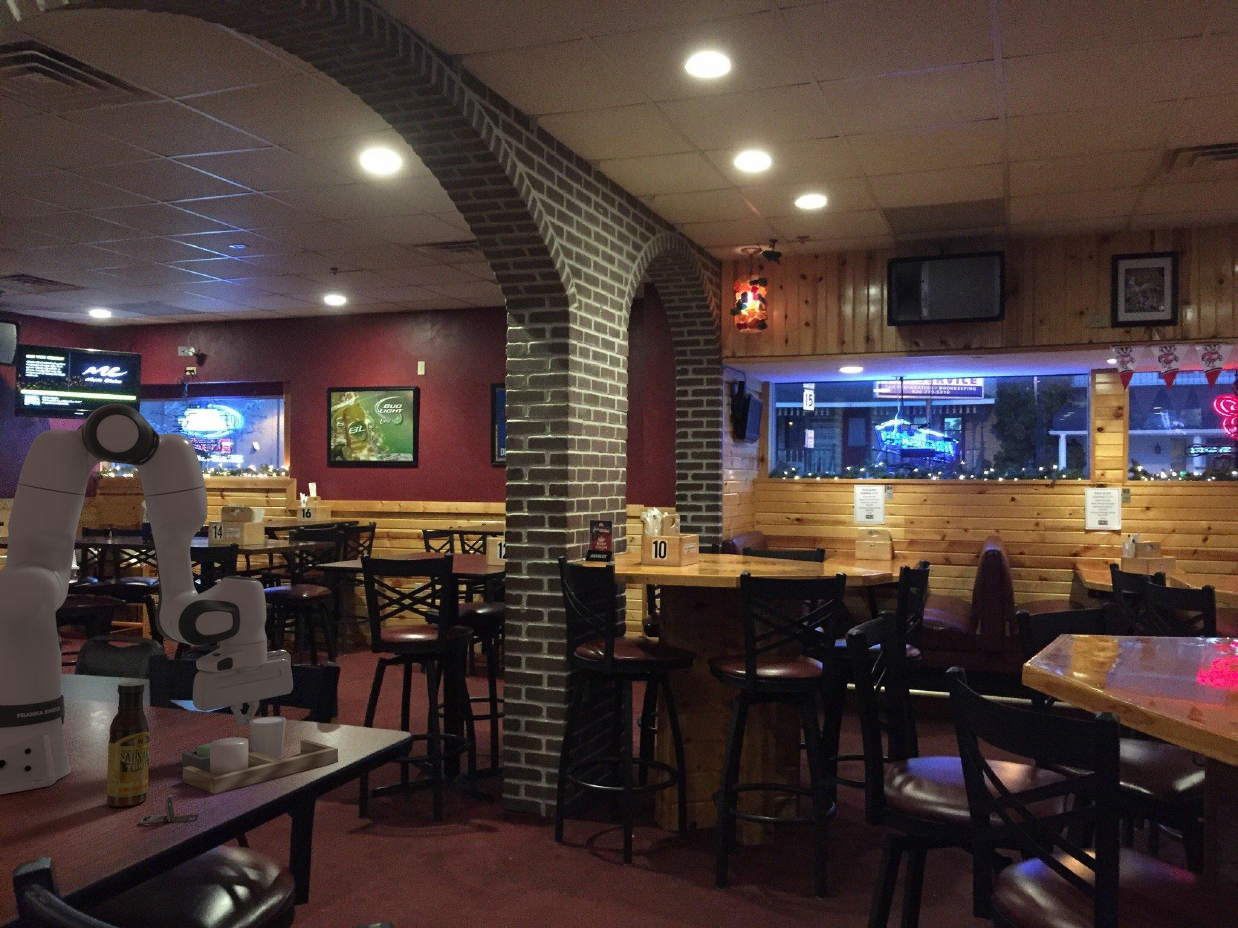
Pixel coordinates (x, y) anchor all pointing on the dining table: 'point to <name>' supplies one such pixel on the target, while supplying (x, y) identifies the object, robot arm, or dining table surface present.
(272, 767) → the frame
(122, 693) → the sauce bottle
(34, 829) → the dining table surface
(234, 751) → the white cylinder puck
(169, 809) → the strap clip
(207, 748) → the button
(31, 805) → the dining table surface
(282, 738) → the white tapered cup
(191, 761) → the button box
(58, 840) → the dining table surface
